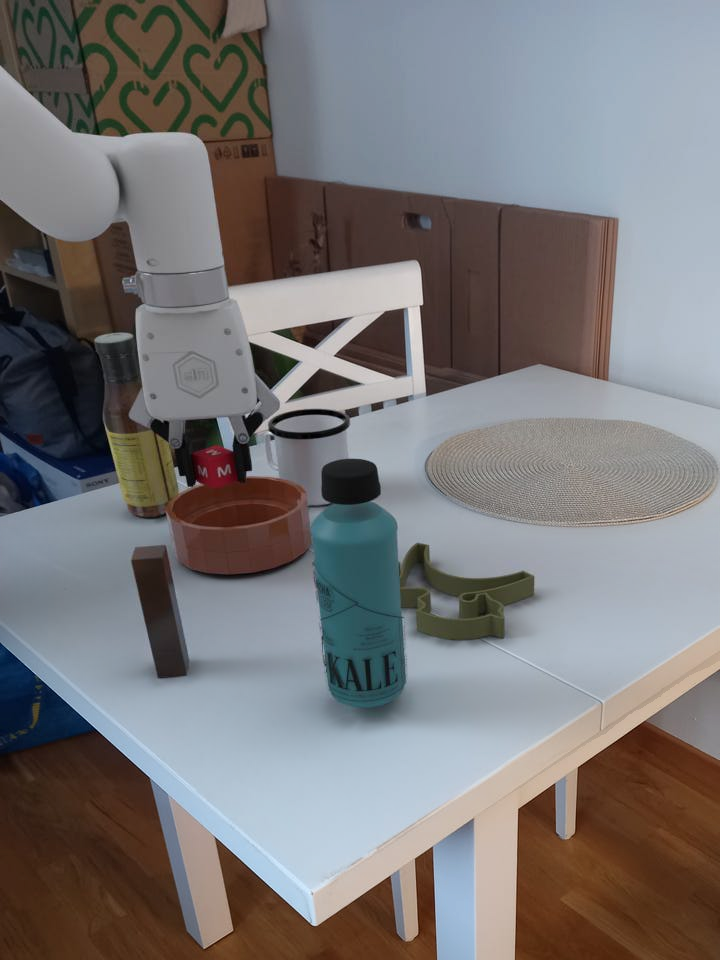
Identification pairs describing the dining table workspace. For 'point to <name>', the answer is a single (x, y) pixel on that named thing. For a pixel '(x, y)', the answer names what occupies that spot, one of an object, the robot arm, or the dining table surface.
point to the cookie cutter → (462, 599)
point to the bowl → (239, 525)
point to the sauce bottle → (133, 432)
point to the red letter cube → (215, 466)
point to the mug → (307, 447)
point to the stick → (160, 610)
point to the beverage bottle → (358, 587)
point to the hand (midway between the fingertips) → (217, 478)
